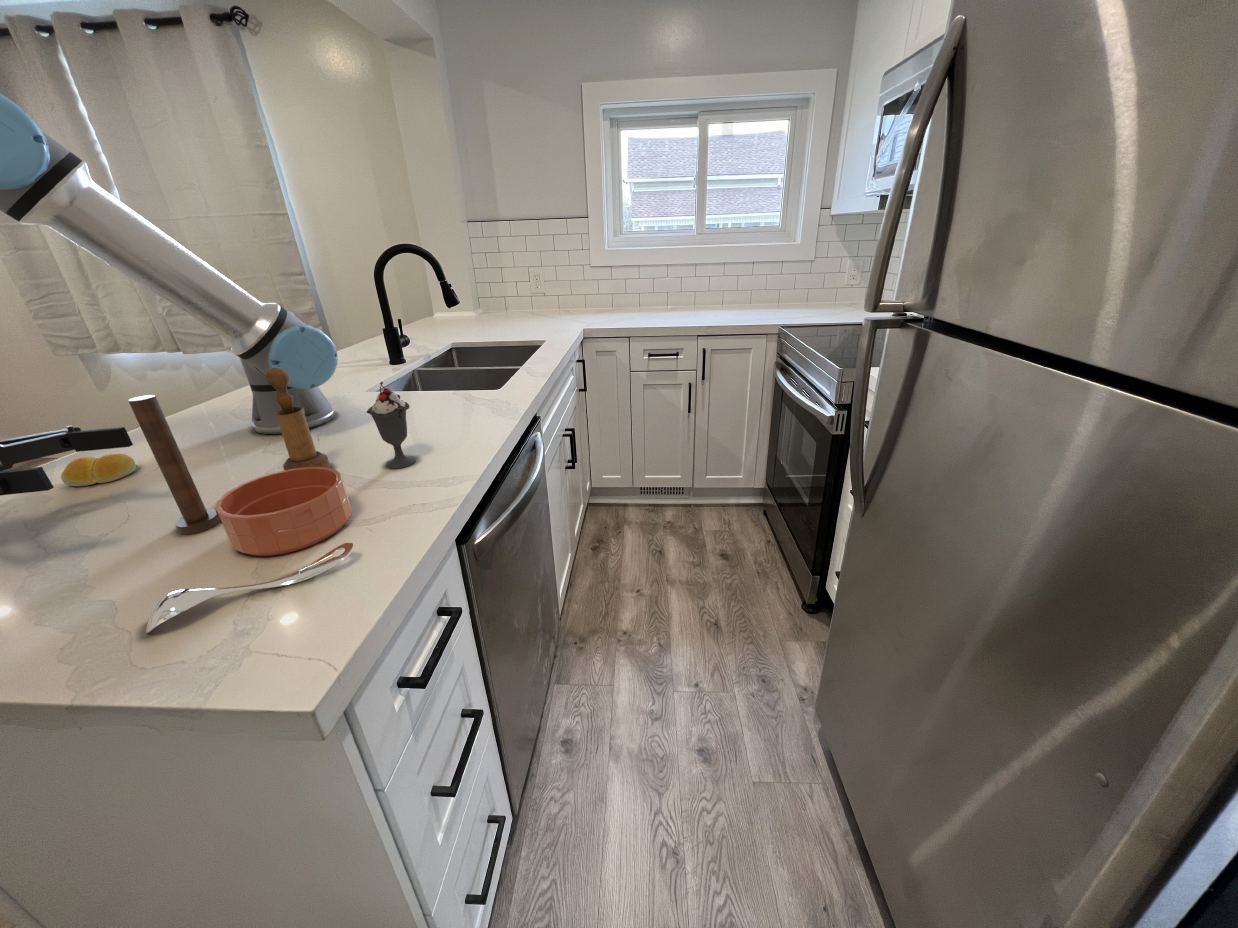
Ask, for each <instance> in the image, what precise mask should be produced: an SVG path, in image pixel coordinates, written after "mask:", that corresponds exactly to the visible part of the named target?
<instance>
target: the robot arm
mask: <svg viewBox="0 0 1238 928" xmlns="http://www.w3.org/2000/svg"><path fill="white" fill-rule="evenodd" d="M89 171H90V170H89V168H88V165H87V163H86V161H83V160H82V159H81V158H80V157H79V156H77V155H76V154H75V153H73V152H71V151H70V150H69V149H68V148H66V147H65V146H63V145H62V144H61V143H60V142H58V141H57V140H56V139H54V138H53V137H52V136H50V135H48V134H47V133H46V132H45V131H43V130H42V129H41V127H40V126H39V125H38V124H37V122H36V121H35V120H34V119H33V118H32V117H31V115H28V113H27V112H26V111H25V110H24V109H23V108H22V107H20V106H19V105H18V104H16V103H15V102H14V101H12V100H11V99H9V98H8V97H6V96H5V95H3V94H1V93H0V212H2V213H3V214H5V215H7V216H9V217H10V218H12V219H13V220H15V221H17V222H18V223H20V224H22V225H36V226H44V227H48V228H49V229H51V230H53V231H54V232H56V233H57V234H58V235H61V237H64V238H65V239H67V240H69V241H70V242H71V243H73V244H74V245H77V246H78V247H79V248H81V249H82V250H84V251H86V252H88V253H89V254H91V255H92V256H94V257H95V258H97V259H99V260H100V261H102V262H104V263H106V265H108V266H110V267H111V268H113V269H114V270H116V271H117V272H120V273H121V274H122V275H124V276H125V277H128V278H129V279H131V280H132V281H134V282H135V283H137V284H139V285H140V286H141V287H143V288H145V289H147V290H148V291H150V292H151V293H152V294H155V296H157V297H159V298H161V299H162V300H164V301H166V302H167V303H169V304H170V305H171V306H174V307H175V308H177V309H179V310H180V311H181V312H183V313H185V314H186V315H188V316H190V317H191V318H193V319H194V320H196V321H197V322H199V323H201V324H202V325H204V326H205V327H207V328H208V329H210V330H212V331H213V332H215V333H216V334H218V335H219V336H221V337H223V338H225V339H226V340H227V341H228V342H229V347H230V349H231V353H232V354H233V355H234V356H237V357H238V358H239V360H240V363H241V365H242V368H243V372H244V374H245V377H246V379H247V381H248V384H249V387H250V391H251V393H252V402H251V403H252V405H251V406H252V407H251V408H252V409H251V422H252V426H253V429H254V431H255V432H256V433H259V434H264V435H279V434H281V435H282V433H281V430H280V427H279V424H278V421H277V418H276V415H275V412H277V411H278V410H281V409H282V408H281V406H280V405H279V403H278V402H277V400H276V397H277V391H276V389H275V388H274V387H272V386H271V385H270V384H269V383H268V382H267V380H266V373H267V371H268V370H270V369H272V368H282V369H284V370H285V371H286V372H287V373H288V375H289V382H288V386H287V391H288V393H289V394H291V395H292V396H293V407H301V408H303V411H304V415H305V418H306V421H307V424H308V427H309V429H312V428H315V427H318V426H321V425H324V424H326V423H328V422H329V421H331V420H332V419H334V417H335V412H334V408H333V406H332V404H331V403H330V401H329V400H328V399H327V397H326V396H325V394H324V393H323V391H322V390H321V389H320V387H321V386H322V385H324V384H325V383H326V382H328V381H329V380H330V379H331V378H332V377H333V375H334V373H335V372H336V370H337V367H338V362H339V361H338V351H337V348H336V345H335V343H334V342H333V340H332V339H331V338H330V336H329V335H327V334H326V333H325V332H323V330H321V329H319V328H316V327H315V326H314V325H313V326H312V325H309V324H307V323H305V322H303V321H302V320H301V319H300V318H298V317H296V315H295V314H294V312H292V311H290V310H289V311H288V310H287V309H285V308H284V307H283V306H281V305H280V304H279V303H277V302H261V300H259V299H257V298H256V297H255V296H253V295H252V294H250V293H249V292H247V291H246V290H245V289H244V288H242V287H241V286H239V285H237V284H236V283H235V282H234V281H232V280H231V279H229V278H228V277H226V276H225V275H224V274H222V273H221V272H220V271H218V270H217V269H216V268H214V267H213V266H212V265H210V264H208V262H206V261H204V260H203V259H201V258H200V257H199V256H198V255H196V254H194V253H193V252H192V251H190V250H189V249H188V248H186V247H185V246H184V245H182V244H180V243H179V242H178V241H176V239H174V238H172V237H171V236H169V235H168V234H166V233H165V232H164V231H162V230H161V229H159V227H157V226H156V225H154V224H152V223H151V221H149V220H147V219H145V218H144V217H143V216H142V215H141V214H138V213H137V212H136V211H135V210H133V209H132V208H130V207H129V206H128V205H126V204H125V203H124V202H122V201H121V200H119V199H118V198H116V197H115V196H114V195H113V194H111V193H109V192H108V191H106V190H105V189H104V188H102V187H101V186H100V185H98V184H97V183H95V182H94V180H93V179H92V177H91V175H90V172H89ZM128 433H129V432H128V431H127V429H126V428H125V426H121V427H120V426H119V427H110V428H99V429H85V430H82V429H81V426H74V425H72V424H71V425H65V428H62V429H57V430H56V429H55V430H50V431H45V432H38V433H32V434H28V435H27V434H26V435H22V436H17V437H16V436H15V437H11V438H4V439H0V497H1V496H9V495H18V494H19V495H20V494H29V493H38V492H47V491H50V490H52V489H54V488H55V487H54V485H53V483H52V481H51V480H50V477H49V476H48V475H47V473H46V471H45V470H44V467H43V466H35V467H28V468H27V467H25V468H16V469H12V468H13V467H14V465H15V464H21V463H24V462H25V463H26V462H29V461H32V460H36V459H41V458H45V457H49V456H54V455H58V454H62V453H67V452H71V451H75V453H78V452H79V453H80V452H89V451H100V450H101V451H102V450H111V449H120V448H130V447H132V446H134V444H133V441H132V440H131V437H130V436H129V434H128Z"/></svg>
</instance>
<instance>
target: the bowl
mask: <svg viewBox="0 0 1238 928" xmlns="http://www.w3.org/2000/svg"><path fill="white" fill-rule="evenodd" d="M349 498H350V497H349V494H348V491H347V489H346V486H345V481H344V478H343V476H342V473H341V472H339V471H338V470H337V469H334V468H326V467H304V468H295V469H289V470H284V469H283V470H280V471H276V472H272V473H268V474H265V475H262V476H259V477H256V478H254V479H251V480H248V481H245V482H244V483H243V482H242V483H241V484H239V485H237V486H235V487H234V488H232V489H230V490H228V491H227V492H225V493H224V494H223V495H222V496H221V497H219V499H217V501H216V503H215V506H214V510H216V513H217V515H218V517H219V520H220V522H219V523H220V525H221V527H222V529H223V531H224V533H225V536H226V538H227V540H228V542H229V544H230V546H231V548H232V550H234V551H237V552H240V553H243V554H246V555H250V556H257V557H270V556H278V555H285V554H288V553H292V552H297V551H299V550H304V549H307V548H308V547H311V546H314V545H316V544H318V543H320V542H322V541H324V540H326V539H328V538H330V537H331V536H333V535H334V534H335V533H336V532H338V531H339V530H341V529H342V528H343V526H344V525H345V524H346V522H347V521H348V519H349V518H350V516H351V514H352V505H351V502H350V499H349Z"/></svg>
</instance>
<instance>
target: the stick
mask: <svg viewBox="0 0 1238 928" xmlns="http://www.w3.org/2000/svg"><path fill="white" fill-rule="evenodd" d="M127 401H128V404H129V406H130V408H131V410H132V412H133V414H134V416H135V420H136V421H137V423H138V425H139V427H140V429H141V432H142V434H143V436H144V438H145V440H146V442H147V444H148V446H149V448H150V451H151V453H152V455H153V457H154V460H155V461H156V463H157V465H158V467H159V469H160V471H161V475H162V476H163V478H164V481H165V482H166V485H167V486H168V489H169V491H170V493H171V495H172V497H173V499H174V501H175V503H176V506H177V508H178V510H179V512H180V514H181V516H182V517H180V518H179V519H177V520H176V521H175V523H174V526H175V528H176V530H177V532H178V534H180V535H185V536H187V535H195V534H198V533H201V532H205V531H207V530H210V529H212V528H214V527H215V526H218V525H219V524H220V523H221V522H220V520H219V517H218V515H217V513H216V510H215V509H213V508H212V509H206V506H205V504H204V502H203V499H202V497H201V495H200V493H199V490H198V488H197V486H196V484H195V481H194V480H193V477H192V475H191V473H190V470H189V468H188V466H187V463H186V462H185V459H184V457H183V455H182V453H181V450H180V448H179V446H178V443H177V441H176V438H175V437H174V434H173V433H172V429H171V428H170V426H169V424H168V421H167V419H166V416H165V414H164V412H163V410H162V407H161V406H160V403H159V401H158V398H157V396H156V395H155V394H146V395H139V396H134V397H131V398H129V399H128V400H127Z"/></svg>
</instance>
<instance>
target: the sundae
mask: <svg viewBox="0 0 1238 928" xmlns="http://www.w3.org/2000/svg"><path fill="white" fill-rule="evenodd" d="M383 384H384V382H383V381H381V382H380V383H379V385H380V387H379V393H378V395H377V396H376V398H375V402H374V404H373V405H371V406H370V407H369V408H368V409H367V410H366V412H365V413H366V414H369V415H370V416H371V417H372V420H373V422H374V424H375V427H376V428H377V430H378V431H377V432H378V433H379V435H380V438H381V439H382V441H384V442H385V443H386V444H388V445H391V446H392V447H393V450H394V457H393V458H392V459H390V460H388V461H387V462H386V463H385V466H386V467H387V468H388V469H397V470H398V469H404V468H407V467H409V466H412V465H413V464H415V463H416V461H417V459H416V457H414V456H411V455H405V454H404V452H403V449H402V444H403V442H404V441H406V439H407V437H408V422H407V411H408V410H409V409H410V408H411V407H410V404H409V403H408V402H406V401H404V400H403V399H401V395H399V394H397V393H396V392H395V391H392V390H391V389H390V388H388V387H387V388H385V386H383ZM382 388H383V390H382Z"/></svg>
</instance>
